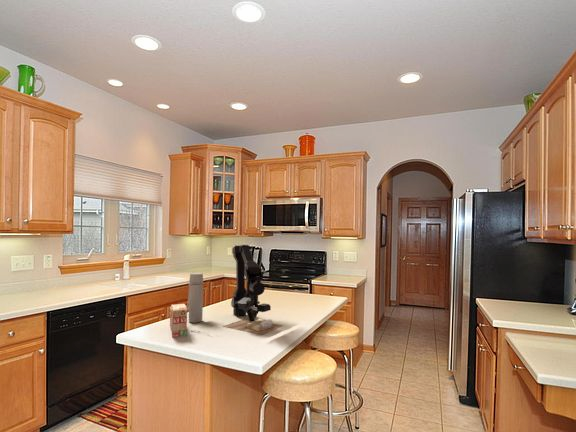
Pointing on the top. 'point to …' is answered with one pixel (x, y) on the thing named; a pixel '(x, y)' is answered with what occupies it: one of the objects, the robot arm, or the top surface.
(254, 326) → the birch plate
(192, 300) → the water bottle
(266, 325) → the bench dog
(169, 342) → the top surface
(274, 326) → the bench board
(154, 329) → the top surface
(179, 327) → the stack of blocks
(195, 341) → the top surface
